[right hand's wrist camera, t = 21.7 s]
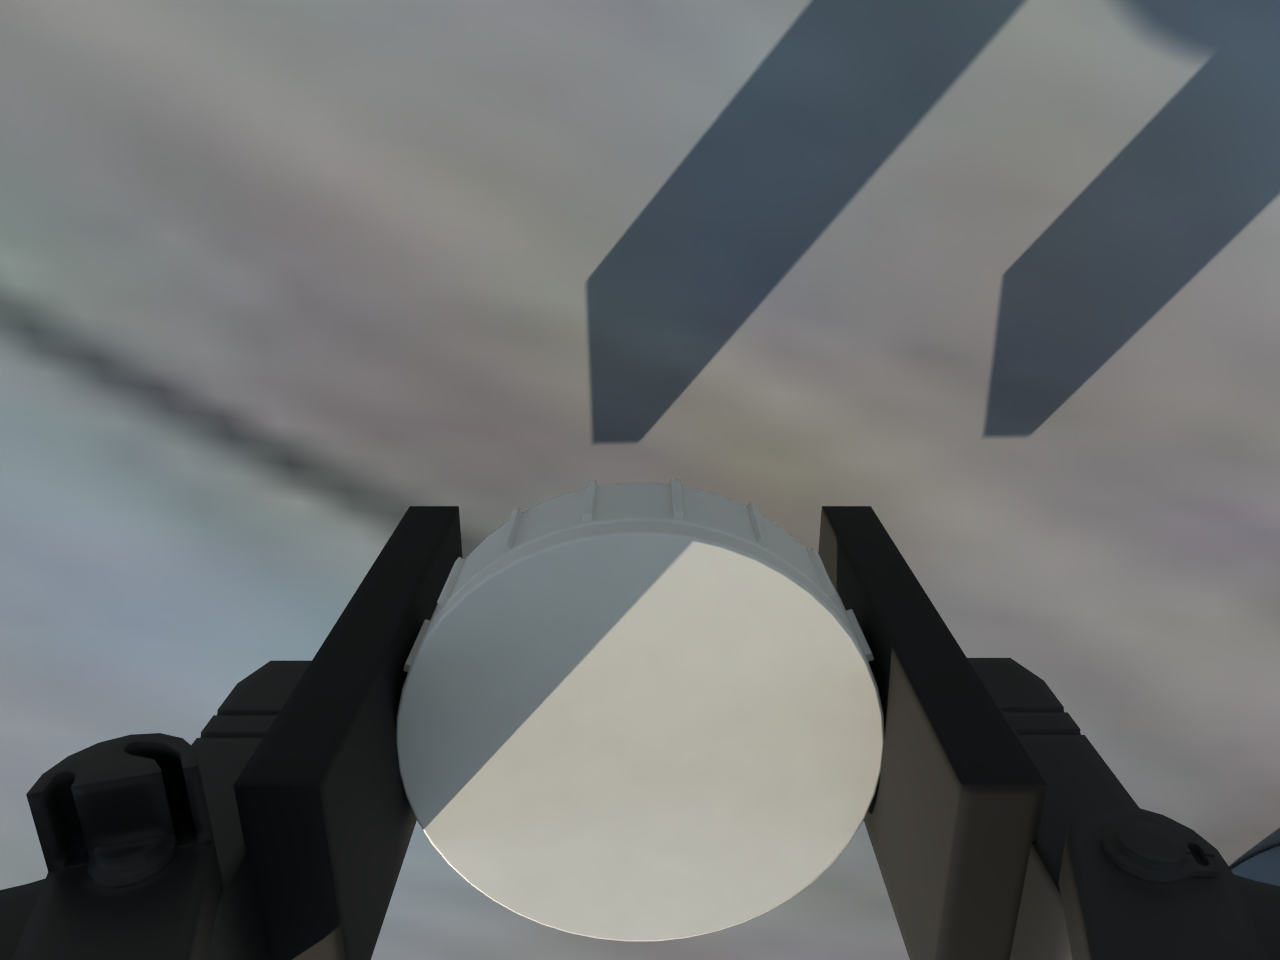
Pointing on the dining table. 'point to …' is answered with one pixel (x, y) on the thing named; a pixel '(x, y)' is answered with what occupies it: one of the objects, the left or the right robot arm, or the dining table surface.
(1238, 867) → the jar
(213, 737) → the right robot arm
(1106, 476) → the dining table surface
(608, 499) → the lid
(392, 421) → the dining table surface
